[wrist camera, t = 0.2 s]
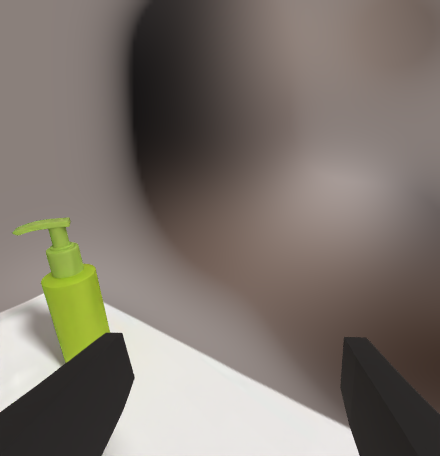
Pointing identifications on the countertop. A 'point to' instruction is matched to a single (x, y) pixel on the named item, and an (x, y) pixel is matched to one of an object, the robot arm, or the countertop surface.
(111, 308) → the countertop surface
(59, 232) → the soap dispenser
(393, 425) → the robot arm
